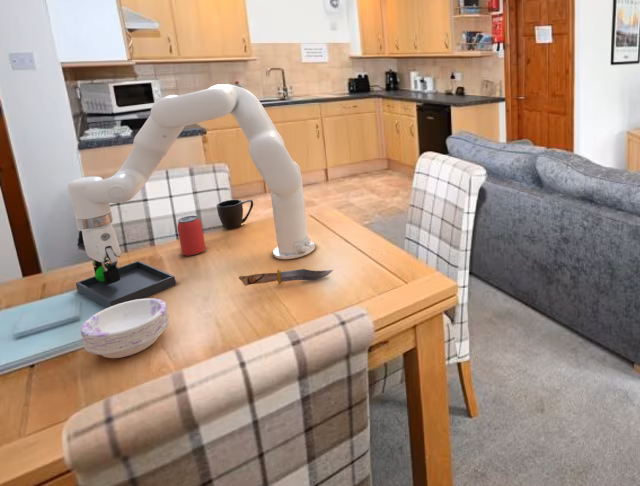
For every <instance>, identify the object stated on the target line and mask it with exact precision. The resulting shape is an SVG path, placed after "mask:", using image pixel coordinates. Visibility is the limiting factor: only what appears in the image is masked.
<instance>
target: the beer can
mask: <svg viewBox="0 0 640 486" xmlns="http://www.w3.org/2000/svg"><path fill="white" fill-rule="evenodd" d="M177 222H178V223H177V227H176V228H177V233H178V239H179V245H180V249H181V254H182V255H183V256H185V257H186V256H187V257H191V256H196V255H199V254H201V253H203V252H204V251H206V242H205V236H204V231H203V225H202V221H201V218H199V216H198V215H187V216H183V217H181V218H179V219H178V220H177Z"/></svg>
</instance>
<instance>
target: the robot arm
mask: <svg viewBox="0 0 640 486" xmlns="http://www.w3.org/2000/svg"><path fill="white" fill-rule="evenodd" d="M229 114H231V116H233V117H234V118H235V120H236V122H237V124H238V126H239V128H240V129H241V131H242V132H243V134H244V136H245V137H246V140H247V141H248V144H249V146H248V152H249V153H248V154H249V156H250V159H251V161H252V162H253V165H254V166H255V168H256V169H257V171H258V172H259V174H260V176H261V177H262V179H263V181H264V183H265V184H266V186H267V188H268V189H269V191H270V199H271V206H272V216H273V221H274V230H275V235H276V243H277V247H275V248H274V249H273V251H272V254H273V257H274V258H276V259H278V260H293V259H298V258H302V257H304V256H307V255H309V254H310V253H312V252H313V251H314V250H315V247H316V245H315V243H314V241H312V240H311V238H310V237H309V229H308V228H309V227H308V219H307V213H306V203H305V194H304V187H303V178H302V169H301V167H300V165H299V164H298V163H297V162H296V161H295V160H293V159H292V157H291V155H290V153H289V151H288V150H287V148H286V146H285V145H286V144H285V140H284V138H283V137H282V135H281V134H280V133H279V131H278V129H277V128H276V126H275V124H274V122H273V120H272V119H271V118H270V116H269V114H268V112H267V111H266V109H265V107H264V106H263V104H262V103H261V101H260V99H258V97H256V96H255V94H253V92H251V91H249V90H248V89H246V88H244V87H241V86H239V85H234V84H224V83H223V84H221V83H220V84H215V85H212V86H209V87H208V88H206V89H201V90H198V91H193V92H188V93H184V94H179V95H177V94H169V95H166V96H164V97H161V98H159V99H158V100H156V101H155V102H154V103H153V105H152V106H151V108H150V115H149V116H148V118H147V119H146V120H145V122H144V124H143V125H142V127H141V128H140V129H139V130H138V132H137V133H136V134H135V136H134V138H133V146H132V149H131V151H130V153H129V154H128V156H127V158H126V159H125V160H124V162H123V163H122V165H121V166H120V168H119V169H118V170H117V172H116V173H114V174H113V175H112V176H110V177H108V178H104V179H103V178H102V177H100V176H85V177H84V176H83V177H79V178H75V179H73V180H71V181H69V183H68V184H67V189H68V194H69V198H70V202H71V203H70V204H71V206H72V210H73V211H72V212H73V215H74V219H75V224H76V228H77V230H78V231H80V232H81V234H82V235H81V236H82V241H83V245H84V249H85V253H86V255H87V257H88V258H90V259H91V261H92V266H93V271H94V273H95V272H96V270H97V269H98V268H99V267H101V266H103V269H104V272H103V275H104V279H105V284H107V285H109V284H111V283H114V282H117V281H119V280H120V277H119V272H118V268H119V266H118V262H119V261H118V259H117V258H121V257H122V251H121V248H120V247H121V246H120V244H119V240H118V238H117V237H118V236H117V234H116V231H115V228H114V227H113V224H114V219H113V214H112V210H111V205H110V204H121V203H122V204H123V203H126V202H129V201H130V200H132V199H134V197H135V196H136V195H137V194H138V193H139V192H140V191H141V190H142V189H143V188H144V187H145V185H146V183H147V182H148V181H149V179H150V177H152V174H153V173H154V172H155V170H156V169H157V167H158V166H159V165H160V163H161V161H162V160H163V159H164V157H166V156H167V154H168V152H169V151H170V149H171V148H172V146H173V145H174V143H175V142H176V140H177V139H178V137H179V136H180V134H181V133H182V131H183V130H184V128H185V127H187V126H192V125H195V124H200V123H203V122H207V121H212V120H216V119H220V118H223V117H226V116H227V115H229ZM106 264H107V265H106Z"/></svg>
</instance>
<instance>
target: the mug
mask: <svg viewBox="0 0 640 486" xmlns="http://www.w3.org/2000/svg"><path fill="white" fill-rule="evenodd" d="M249 202H250V205H249V209H248V211H247V213H246V214H245V216H244V215H243V214H244V209H243V207H244V206H243V205H244V204H246V203H249ZM253 207H254V201H253V199H247V200H243V201H242V199H228V200H223V201H220V202H219V203H217V204H216V210H217V211H216V212H217V215H218V218H219V221H220V223H221V224H222V226H223V229H225V230H235V229H239V228H240V227H241V226H242V224H244V223H245V222H246V221H247V219H248V217H249V216H250V214H251V212H252V210H253Z"/></svg>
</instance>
